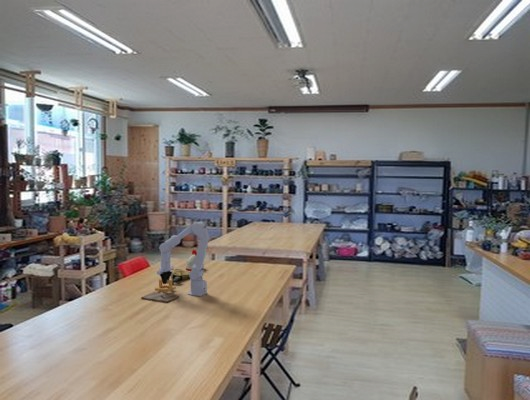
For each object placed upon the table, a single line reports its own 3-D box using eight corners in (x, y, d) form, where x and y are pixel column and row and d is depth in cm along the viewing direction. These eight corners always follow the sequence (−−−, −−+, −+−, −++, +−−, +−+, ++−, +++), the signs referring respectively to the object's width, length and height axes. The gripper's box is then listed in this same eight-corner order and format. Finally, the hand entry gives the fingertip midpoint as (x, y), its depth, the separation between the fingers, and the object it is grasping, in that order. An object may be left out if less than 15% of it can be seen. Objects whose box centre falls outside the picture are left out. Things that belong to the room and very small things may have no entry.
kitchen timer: (198, 266, 323) (198, 248, 322) (207, 269, 312) (207, 250, 311) (182, 268, 314) (182, 249, 313) (191, 272, 303) (191, 252, 303)
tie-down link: (175, 288, 253) (175, 279, 252) (167, 292, 244) (167, 282, 244) (163, 286, 256) (164, 277, 256) (155, 290, 248) (155, 280, 247)
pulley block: (162, 275, 266) (175, 265, 295) (161, 283, 266) (173, 273, 296) (183, 279, 265) (193, 269, 295) (182, 287, 265) (192, 277, 295)
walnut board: (179, 297, 238) (179, 295, 238) (167, 303, 227) (167, 301, 227) (154, 293, 245) (154, 292, 245) (141, 298, 234) (141, 297, 234)
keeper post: (163, 297, 236) (163, 291, 236) (162, 298, 234) (162, 292, 234) (161, 297, 236) (161, 291, 236) (159, 297, 235) (160, 292, 235)
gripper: (167, 259, 257) (167, 280, 258) (152, 263, 244) (152, 285, 245) (176, 260, 255) (176, 281, 255) (162, 264, 241) (162, 286, 242)
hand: (165, 283), depth 250 cm, fingers closed on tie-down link
